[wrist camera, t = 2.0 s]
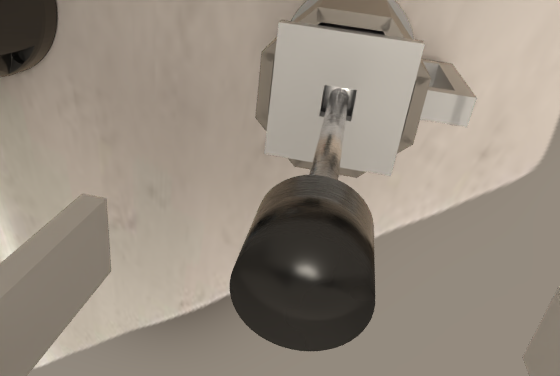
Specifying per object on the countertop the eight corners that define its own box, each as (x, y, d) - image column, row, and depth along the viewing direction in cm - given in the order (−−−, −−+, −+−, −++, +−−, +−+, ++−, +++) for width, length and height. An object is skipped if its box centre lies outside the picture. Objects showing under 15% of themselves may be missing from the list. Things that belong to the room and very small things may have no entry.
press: (278, 102, 46) (238, 171, 32) (293, -26, 41) (254, -12, 26) (425, 126, 45) (452, 209, 31) (462, -3, 39) (515, 26, 25)
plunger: (275, 138, 33) (167, 364, 15) (289, 25, 29) (167, 145, 11) (385, 157, 32) (406, 417, 14) (412, 43, 28) (487, 202, 11)
